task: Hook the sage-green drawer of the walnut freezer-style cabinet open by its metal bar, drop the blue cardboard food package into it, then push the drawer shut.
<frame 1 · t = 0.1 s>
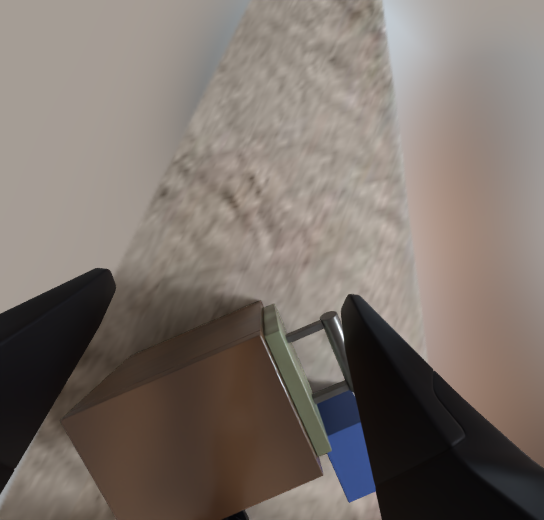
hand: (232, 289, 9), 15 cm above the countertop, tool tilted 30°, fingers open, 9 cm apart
cabinet: (218, 376, 25), on the countertop
drawer: (253, 386, 21), point 4 cm above the countertop, slide at 0.0 cm
package: (339, 418, 26), on the countertop
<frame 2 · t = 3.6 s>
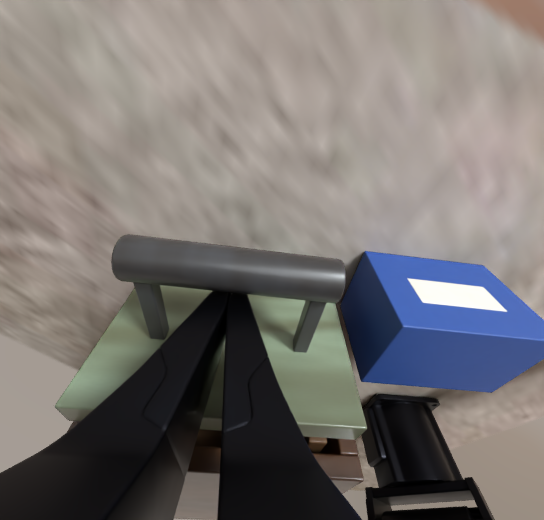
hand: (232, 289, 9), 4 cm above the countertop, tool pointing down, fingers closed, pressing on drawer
cabinet: (236, 359, 20), on the countertop
drawer: (230, 378, 13), point 4 cm above the countertop, slide at 1.4 cm, touching gripper
package: (406, 286, 15), on the countertop
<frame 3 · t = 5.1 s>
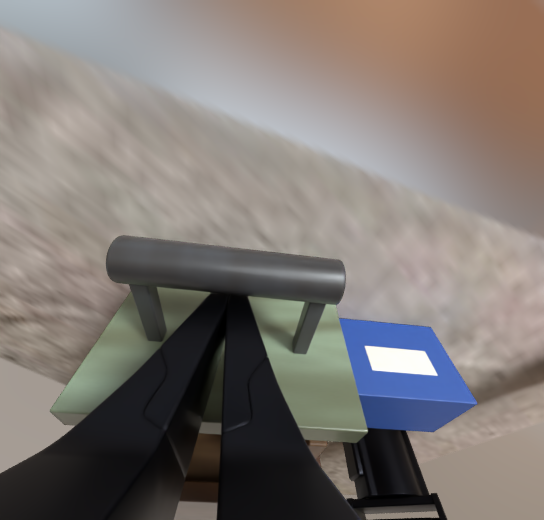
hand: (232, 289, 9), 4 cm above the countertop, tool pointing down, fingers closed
cabinet: (234, 390, 23), on the countertop
drawer: (229, 380, 13), point 4 cm above the countertop, slide at 7.1 cm
package: (371, 340, 18), on the countertop
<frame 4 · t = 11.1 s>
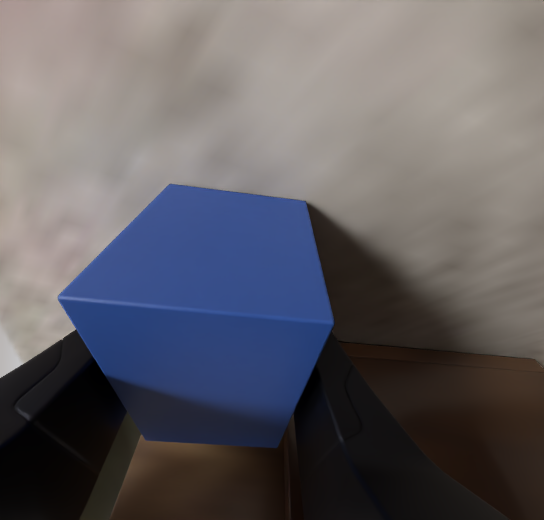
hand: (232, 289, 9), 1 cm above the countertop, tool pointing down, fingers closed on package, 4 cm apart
cabinet: (373, 394, 17), on the countertop
drawer: (194, 465, 12), point 4 cm above the countertop, slide at 7.1 cm
package: (235, 272, 10), on the countertop, touching gripper
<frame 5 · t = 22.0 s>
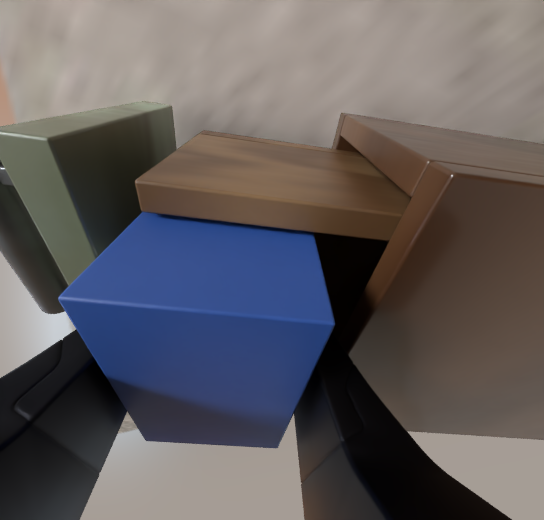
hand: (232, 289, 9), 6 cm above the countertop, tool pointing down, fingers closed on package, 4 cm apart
cabinet: (426, 238, 15), on the countertop
drawer: (233, 260, 11), point 4 cm above the countertop, slide at 7.3 cm, touching gripper
package: (235, 272, 10), point 5 cm above the countertop, touching gripper
when the fingers open (9 cm above the countertop, at t = 28.0 s): package drops 6 cm, resting on drawer.
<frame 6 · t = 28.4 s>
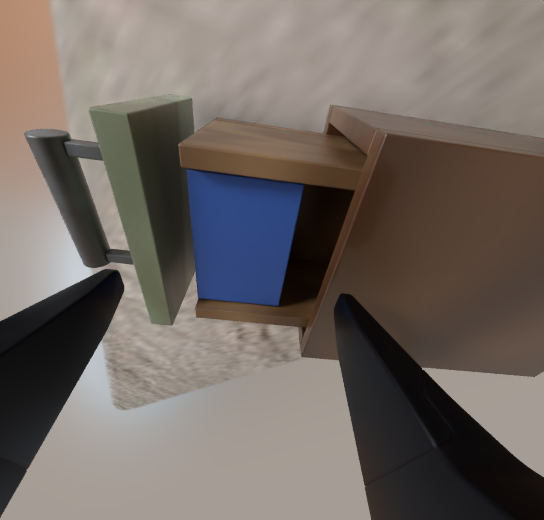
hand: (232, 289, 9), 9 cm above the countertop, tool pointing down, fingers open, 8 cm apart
cabinet: (405, 213, 17), on the countertop
drawer: (240, 223, 13), point 4 cm above the countertop, slide at 7.4 cm, touching package
package: (250, 205, 15), point 2 cm above the countertop, touching drawer
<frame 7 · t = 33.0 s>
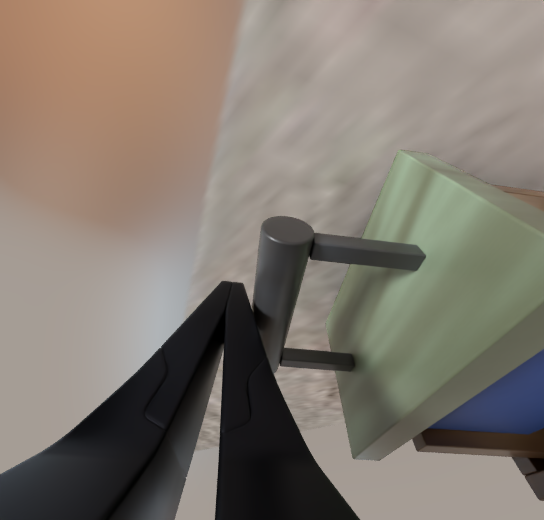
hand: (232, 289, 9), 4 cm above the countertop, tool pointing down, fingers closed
drawer: (478, 322, 10), point 4 cm above the countertop, slide at 6.8 cm, touching gripper, package
package: (454, 283, 11), point 2 cm above the countertop, touching drawer
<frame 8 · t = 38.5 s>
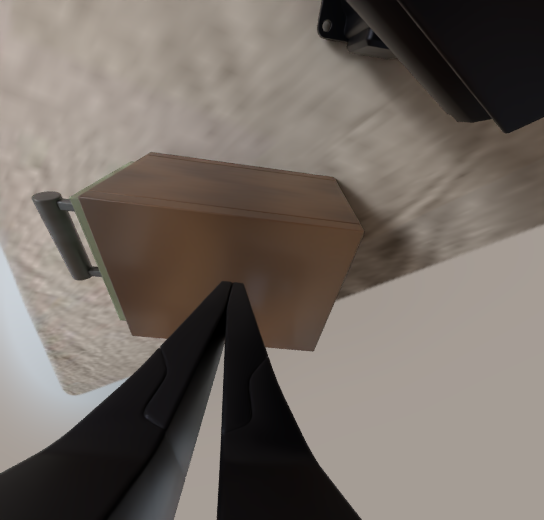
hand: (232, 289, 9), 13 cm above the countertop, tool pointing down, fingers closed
cabinet: (241, 228, 22), on the countertop
drawer: (182, 249, 19), point 4 cm above the countertop, slide at 0.0 cm, touching package
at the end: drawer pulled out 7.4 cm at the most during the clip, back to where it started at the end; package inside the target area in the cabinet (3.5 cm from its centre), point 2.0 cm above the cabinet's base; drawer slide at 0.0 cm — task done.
